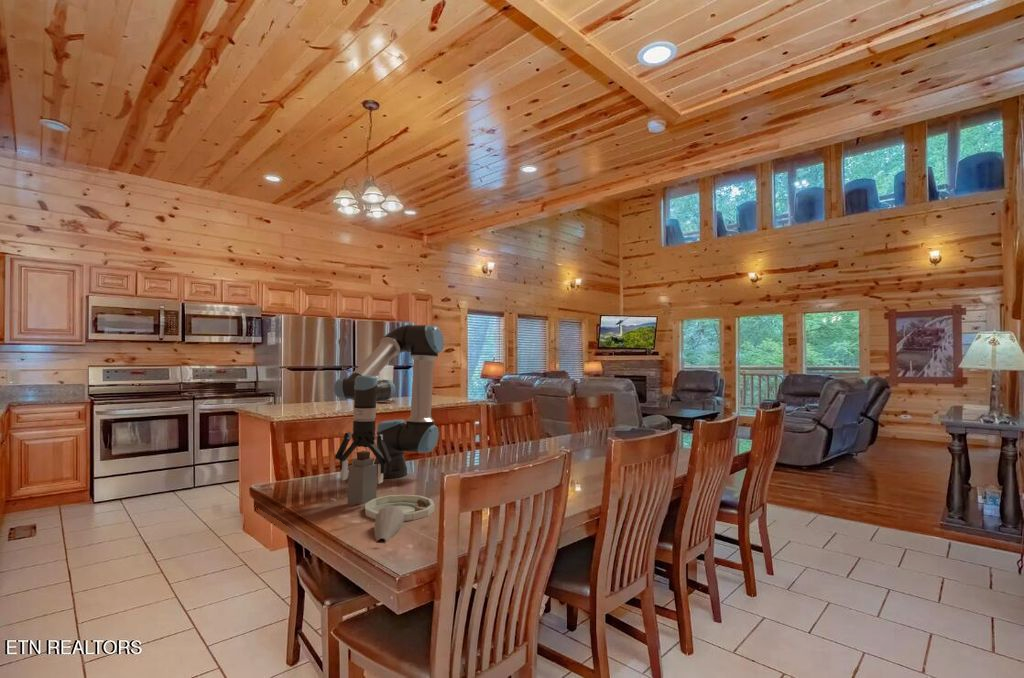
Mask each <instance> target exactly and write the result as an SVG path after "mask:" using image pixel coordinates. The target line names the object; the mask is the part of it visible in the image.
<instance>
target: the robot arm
mask: <svg viewBox="0 0 1024 678" xmlns="http://www.w3.org/2000/svg"><path fill="white" fill-rule="evenodd" d="M444 342H445V341H444V336H443V332H442V330H441V329H440V327H438V326H436V325H431V324H430V325H428V324H425V325H424V324H422V325H417V324H415V325H410V324H407V325H406V324H405V325H401V326H398V327H397V328H395V329H393V330H390V331H389V332H388V333H386V335H384V336H383V338H382V339H380V341H379V344H378V346H377V347H375V349H374V350H373V351H372V352H371V353H370V354H369V355H368V356H367V357H366V358H365V360H363V361H362V363H360V365H358V366H357V367H356V369H355V370H354V371H353V372H352V373H351V374H350V375H349V376H348V377H347V378H345V377H344V378H338V379H337V380H336V381H335V383H334V385H333V386H334V387H333V391H334V394H335V397H337V398H338V399H345V400H353V417H352V418H353V421H352V433H351V431H350V432H349V431H348V432H345V433H344V435H343V439H342V441H341V444H340V446H339V448H338V449H337V452H336V454H335V457H334V458H335V460H338V461H339V470H340V471H341V481H346V480H348V473H349V459H348V457H349V456H350V455H351V454H352V453H353V452H354V451H355V449H356V448H357V447H358V448H362V447H363V448H368V449H370V451H371V452H372V454H373V455H374V456H375V459H374V462H373V464H377V485H379V484H381V483H383V482H384V479H395V478H401V477H405V476H406V475H407V476H408V466H407V463H406V459H405V452H409V453H410V452H411V453H419V454H429V453H431V452H432V451H433V450H434V449H435V448H436V447H437V443H438V441H439V435H440V432H439V427H438V426H437V425H435V419H433V417H432V400H433V382H434V368H435V367H434V366H435V360H436V359H438V356H439V355H438V354H440V353H442V352H443V350H444ZM401 353H410V357H411V358H412V360H413V367H412V368H413V370H412V381H411V382H412V385H411V399H410V402H411V403H410V416H409V417H408V418H406V421H405V419H391V420H385V421H380V422H378V424H377V426H376V422H377V421H376V420H375V419H376V417H377V402H381V401H383V402H384V401H388V400H390V399H393V397H394V396H395V395H396V390H397V389H396V386H395V383H394V382H393V381H392V380H389V379H378V377H377V376H378V374H379V373H380V372H381V371H382V370H383V369H384V368H385V367H386V366H387V364H388V363H389V362H390V361H391V360H392V359H393V358H395V357H397V356H399V355H400V354H401ZM351 439H352V440H353V442H352V443H351V444H350V445H349V443H350V441H351ZM348 445H349V447H348V448H347V446H348ZM346 448H347V449H346Z"/></svg>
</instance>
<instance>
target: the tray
mask: <svg viewBox="0 0 1024 678" xmlns="http://www.w3.org/2000/svg"><path fill="white" fill-rule="evenodd" d="M419 499H425V500H426V507H424V509H423V510H420V511H416V512H415V508H416V507H419V506H418V505H417V503H418V500H419ZM390 505H393V506H396V507H398V508H400V509H401V510H402V512H403V513H404V521H403V522H407V521H415V520H419V519H422V518H425V517H429V516H430V515H431V514H433V512H435V511H436V509H435V508H436V506H435V505H436V504H435V502H434V501H433V499H431V498H429V497H426V496H423V495H417V494H415V495H414V494H394V495H393V494H391V495H389V494H388V495H385V496H380V497H376V498H375V499H372V500H371V501H369V502H367V503H365V504H364V513H365V514H364V515H365V516H366V517H368V518H371V519H373V520H374V521H375V520H376V516H377V514H378V513H379V511H380V510H381V509H382V508H384V507H386V506H390Z"/></svg>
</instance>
